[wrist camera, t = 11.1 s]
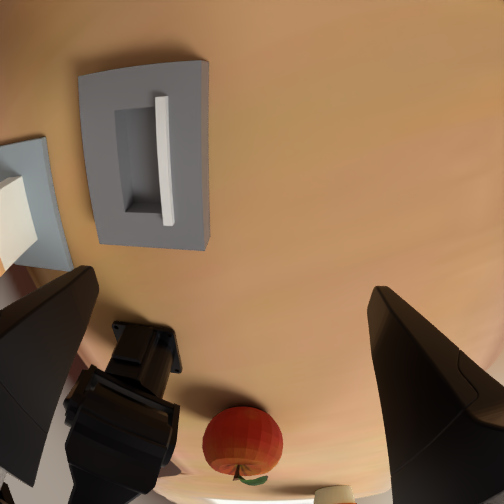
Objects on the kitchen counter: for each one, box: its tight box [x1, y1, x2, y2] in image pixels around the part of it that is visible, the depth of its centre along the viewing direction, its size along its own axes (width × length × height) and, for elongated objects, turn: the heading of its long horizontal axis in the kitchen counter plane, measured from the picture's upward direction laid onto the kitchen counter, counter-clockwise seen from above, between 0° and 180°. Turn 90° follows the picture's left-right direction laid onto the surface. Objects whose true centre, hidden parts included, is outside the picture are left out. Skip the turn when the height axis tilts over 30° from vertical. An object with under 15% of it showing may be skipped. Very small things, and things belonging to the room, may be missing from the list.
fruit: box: [202, 406, 283, 486], centre depth 31 cm, size 10×10×10 cm
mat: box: [0, 137, 74, 272], centre depth 22 cm, size 12×8×1 cm, turn 178°
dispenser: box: [78, 60, 210, 251], centre depth 18 cm, size 12×8×2 cm, turn 178°
